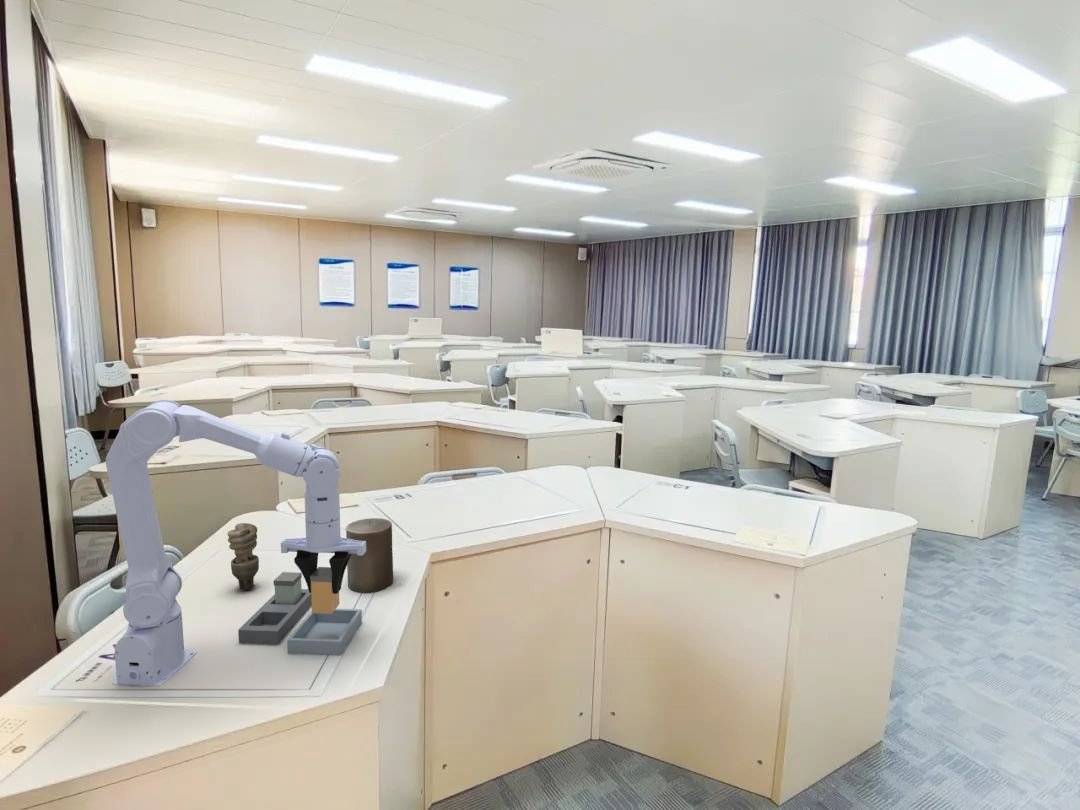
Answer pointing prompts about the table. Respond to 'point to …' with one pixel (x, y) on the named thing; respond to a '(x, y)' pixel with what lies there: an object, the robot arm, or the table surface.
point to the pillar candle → (371, 556)
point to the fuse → (288, 588)
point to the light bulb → (244, 554)
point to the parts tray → (325, 632)
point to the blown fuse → (323, 591)
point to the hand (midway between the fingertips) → (325, 590)
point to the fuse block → (273, 621)
